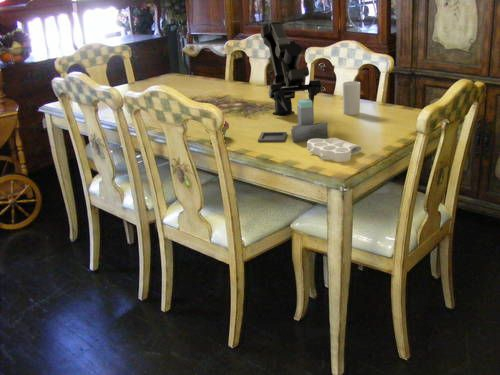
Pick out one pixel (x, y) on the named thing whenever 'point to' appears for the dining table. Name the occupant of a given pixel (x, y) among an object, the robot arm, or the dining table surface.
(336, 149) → the white muffin tray
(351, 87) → the mug
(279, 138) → the tray
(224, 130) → the cupcake
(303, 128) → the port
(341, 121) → the dining table surface
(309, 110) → the plug
